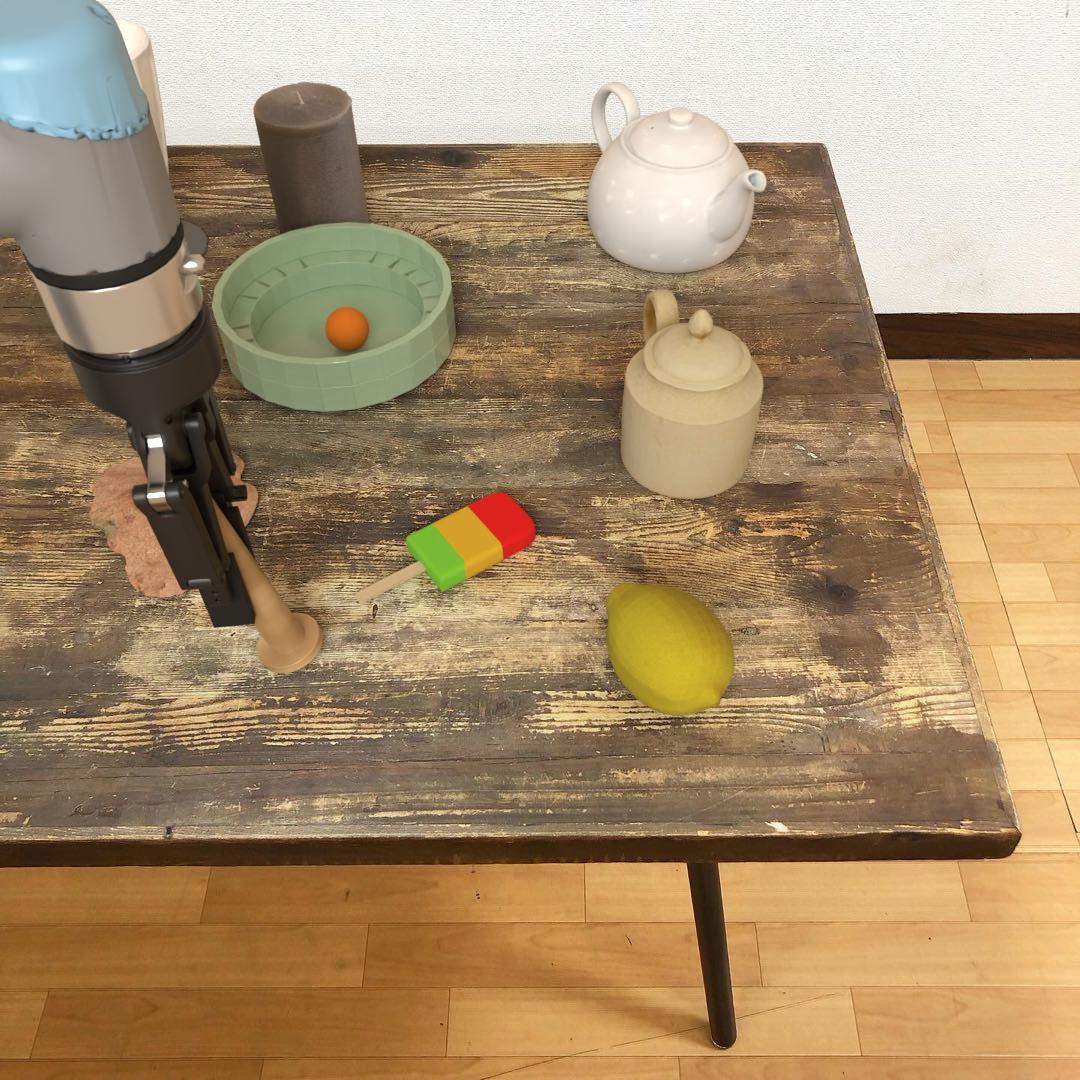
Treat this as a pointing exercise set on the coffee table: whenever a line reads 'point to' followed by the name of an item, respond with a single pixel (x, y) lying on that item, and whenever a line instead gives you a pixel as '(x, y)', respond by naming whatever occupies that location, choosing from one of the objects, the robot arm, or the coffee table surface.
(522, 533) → the popsicle
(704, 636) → the lemon
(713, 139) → the teapot
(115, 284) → the robot arm
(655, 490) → the sugar bowl
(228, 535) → the stick
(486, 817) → the coffee table surface
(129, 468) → the clay slab
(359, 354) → the bowl
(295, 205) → the pillar candle
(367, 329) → the ball
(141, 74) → the cup
